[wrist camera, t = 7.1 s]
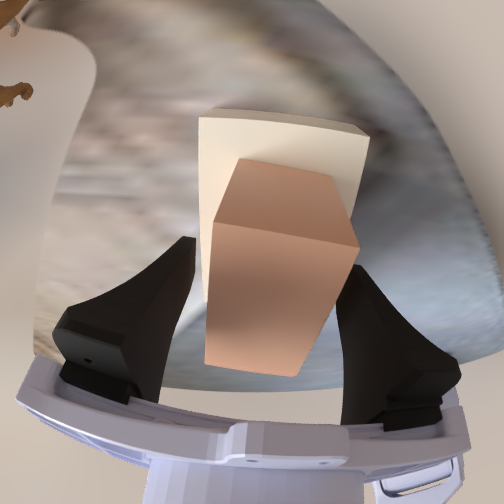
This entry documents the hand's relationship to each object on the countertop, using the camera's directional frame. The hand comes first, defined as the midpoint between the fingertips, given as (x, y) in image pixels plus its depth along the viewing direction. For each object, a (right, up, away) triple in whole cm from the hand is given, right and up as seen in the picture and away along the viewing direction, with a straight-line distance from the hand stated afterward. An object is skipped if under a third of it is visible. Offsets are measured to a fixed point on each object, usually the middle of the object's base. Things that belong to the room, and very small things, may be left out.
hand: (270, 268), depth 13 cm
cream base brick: (+1, +4, +5) cm, 6 cm away
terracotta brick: (0, +2, +2) cm, 3 cm away
